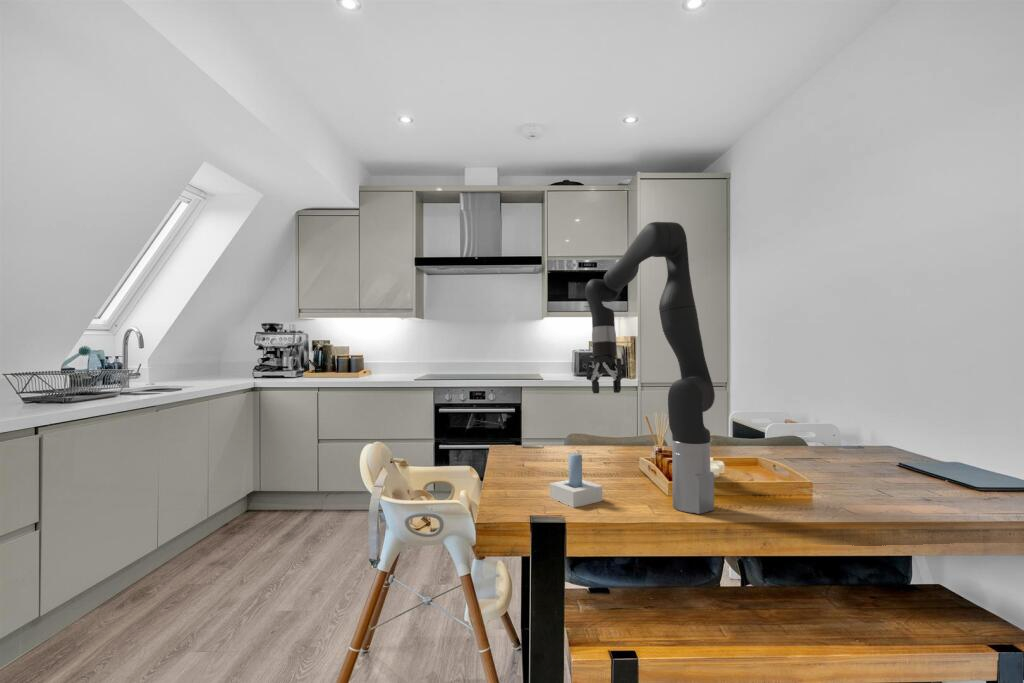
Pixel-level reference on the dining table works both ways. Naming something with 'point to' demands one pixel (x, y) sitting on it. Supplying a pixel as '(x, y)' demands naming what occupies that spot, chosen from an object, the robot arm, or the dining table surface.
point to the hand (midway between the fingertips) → (606, 393)
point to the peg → (575, 470)
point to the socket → (576, 493)
